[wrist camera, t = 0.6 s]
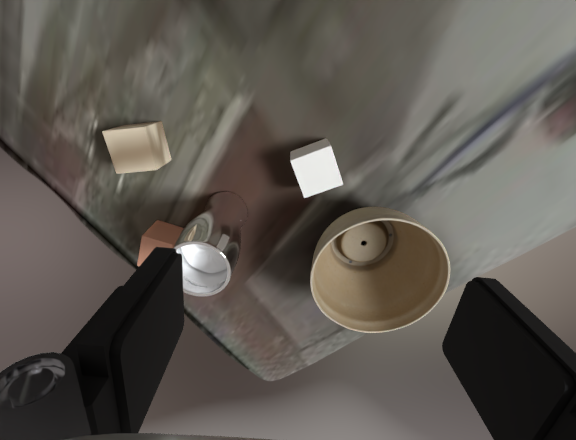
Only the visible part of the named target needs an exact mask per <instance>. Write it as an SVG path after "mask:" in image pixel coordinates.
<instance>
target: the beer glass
mask: <svg viewBox="0 0 576 440" xmlns="http://www.w3.org/2000/svg"><path fill="white" fill-rule="evenodd" d="M247 217H248V209H247V205H246V203H245V202H244V200H243V199H242V198H241V197H240V196H238V195H236V194H234V193H232V192H219V193H216V194H214V195H213V196H211V197H210V198H209V200H208V201H207V204H206V207H205V211H204V212H203V213H201V214H200V215H198V216H197V217H195V218H194V219H193V220H192V221H191V222H190V223H188V224H187V226H186V227H185V228H184V229H183V230H182V232H181V233H180V235H179V236H178V238H177V239H176V241H175V243H174V245H173V247H172V248H175V249H176V252H177V253H180V254H181V255H182V269H183V292H185V293H187V294H190V295H194V296H210V295H214V294H216V293H218V292H220V291H222V290H223V289H224V288H225V287H226V286H227V284H228V282H229V280H230V277H231V275H232V273H233V271H234V268H235V266H236V264H237V261H238V258H239V254H240V250H241V227H242V226H243V225H244V224H245V222H246V220H247Z"/></svg>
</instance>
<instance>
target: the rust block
mask: <svg viewBox="0 0 576 440" xmlns="http://www.w3.org/2000/svg"><path fill="white" fill-rule="evenodd" d="M183 229H184V228H182V227H179V226H176V225H172V224H169V223H166V222H162V221H159V220H157V221H156V222H155V223H154V224H153V225H152V226H151V227H150V228H149V229H148V230H147V231H146V232H145V233H144V234H143V235H142V239H141V245H140V251H139V257H138V263H137V266H140V265H141V264H142V263H143V262H144V260H145V259H146V258H147V257H148V255H149V254H150V253H151V252H152V251H153V249H154V248H155V247H165V248H172V247H173V245H174V243H175V241H176V239H177V238H178V236H179V235H180V233H181V232H182V230H183Z"/></svg>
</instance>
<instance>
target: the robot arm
mask: <svg viewBox="0 0 576 440" xmlns="http://www.w3.org/2000/svg"><path fill="white" fill-rule="evenodd" d="M183 326H184V300H183V269H182V255H181V254H180V253H177V252H176V249H175V248H165V247H155V248H154V249H153V251H152V252H151V253H150V254H149V255H148V257H147V258H146V259H145V260H144V262H143V263H142V264H141V265H140V266H139V268H138V269H137V270H136V271H135V273H134V274H133V275H132V276H131V277H130V279H129V280H128V281H127V282H126V283H125V285H124V286H119V287H118V288H117V289H116V290H115V291H114V292H113V293H112V294H111V295H110V297H109V298H108V299H107V300H106V301H105V302H104V304H103V305H102V306H101V307H100V308H99V309H98V311H97V312H96V313H95V314H94V315H93V316H92V318H91V319H90V320H89V321H88V323H87V324H86V325H85V326H84V327H83V328H82V329H81V331H80V332H79V333H78V334H77V335H76V337H75V338H74V339H73V340H72V341H71V343H70V344H69V345H68V346H67V347H66V348H65V349H64V351H63V352H62V353H54V352H51V353H41V354H37V355H33V356H29V357H27V358H24V359H22V360H20V361H18V362H15V363H14V364H12V365H11V366H9V367H7V368H6V369H4V370H3V371H1V372H0V440H270V439H254V438H253V439H252V438H238V437H222V436H200V435H178V434H155V433H154V434H153V433H145V434H144V433H138V432H139V429H140V427H141V425H142V423H143V420H144V418H145V416H146V414H147V411H148V409H149V406H150V404H151V402H152V400H153V397H154V395H155V393H156V390H157V388H158V386H159V384H160V381H161V379H162V377H163V374H164V372H165V370H166V367H167V365H168V362H169V360H170V358H171V356H172V353H173V351H174V349H175V347H176V344H177V342H178V340H179V337H180V335H181V332H182V330H183ZM442 347H443V352H444V355H445V356H446V358H447V360H448V361H449V363H450V365H451V367H452V368H453V370H454V372H455V373H456V375H457V377H458V379H459V380H460V382H461V384H462V386H463V387H464V389H465V391H466V392H467V394H468V396H469V397H470V399H471V401H472V403H473V404H474V406H475V408H476V409H477V411H478V413H479V415H480V416H481V418H482V420H483V422H484V423H485V425H486V427H487V429H488V430H489V432H490V434H491V435H492V437H493V439H494V440H576V353H575V352H574V351H573V350H572V349H570V347H569V346H567V345H566V344H565V343H564V342H563V341H562V340H561V339H560V338H559V337H558V336H557V335H556V334H555V333H553V332H552V331H551V330H550V329H549V328H548V327H547V326H546V325H545V324H544V323H543V322H542V321H541V320H539V319H538V318H537V317H536V316H535V315H534V314H533V313H532V312H531V311H530V310H529V309H528V308H526V307H525V306H524V305H523V304H522V303H521V302H520V301H519V300H518V299H517V298H516V297H515V296H514V295H513V294H511V293H510V292H509V291H508V290H507V289H506V288H505V287H504V286H503V285H502V284H500V282H499V281H497V280H496V279H491V278H480V277H476V278H474V279H472V281H469V282H468V283H467V284H466V287H465V289H464V292H463V294H462V296H461V299H460V302H459V304H458V306H457V309H456V311H455V314H454V316H453V319H452V321H451V324H450V326H449V328H448V331H447V334H446V336H445V338H444V341H443V345H442Z"/></svg>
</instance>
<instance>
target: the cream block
mask: <svg viewBox="0 0 576 440" xmlns="http://www.w3.org/2000/svg"><path fill="white" fill-rule="evenodd" d="M290 162H291V164H292V167H293V170H294V172H295V175H296V177H297V180H298V183H299V185H300V188H301V191H302V193H303V196H304V198H306V197H309V196H312V195H315V194H318V193H321V192H324V191H326V190H329V189H332V188H335V187H338V186H341V185H343V182H342V179H341V176H340V173H339V169H338V166H337V163H336V160H335V157H334V154H333V151H332V147H331V145H330V143H329V141H328V140H327V138H325V139H323V140H320V141H317V142H315V143H312V144H309V145H307V146H304V147H301V148H299V149H296V150H293V151H291V152H290Z"/></svg>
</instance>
